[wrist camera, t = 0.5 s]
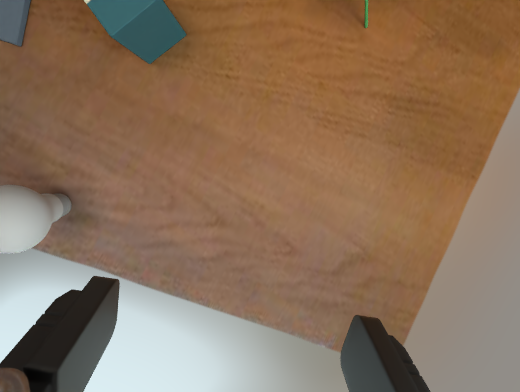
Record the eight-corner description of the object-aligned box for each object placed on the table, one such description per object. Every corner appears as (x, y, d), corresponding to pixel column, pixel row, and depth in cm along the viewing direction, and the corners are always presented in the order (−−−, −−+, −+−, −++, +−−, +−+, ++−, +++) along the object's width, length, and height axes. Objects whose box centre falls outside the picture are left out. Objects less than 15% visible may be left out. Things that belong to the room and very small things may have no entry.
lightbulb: (57, 165, 37) (-30, 173, 26) (102, 199, 37) (35, 222, 26) (27, 206, 37) (-70, 232, 26) (71, 240, 38) (-6, 278, 27)
